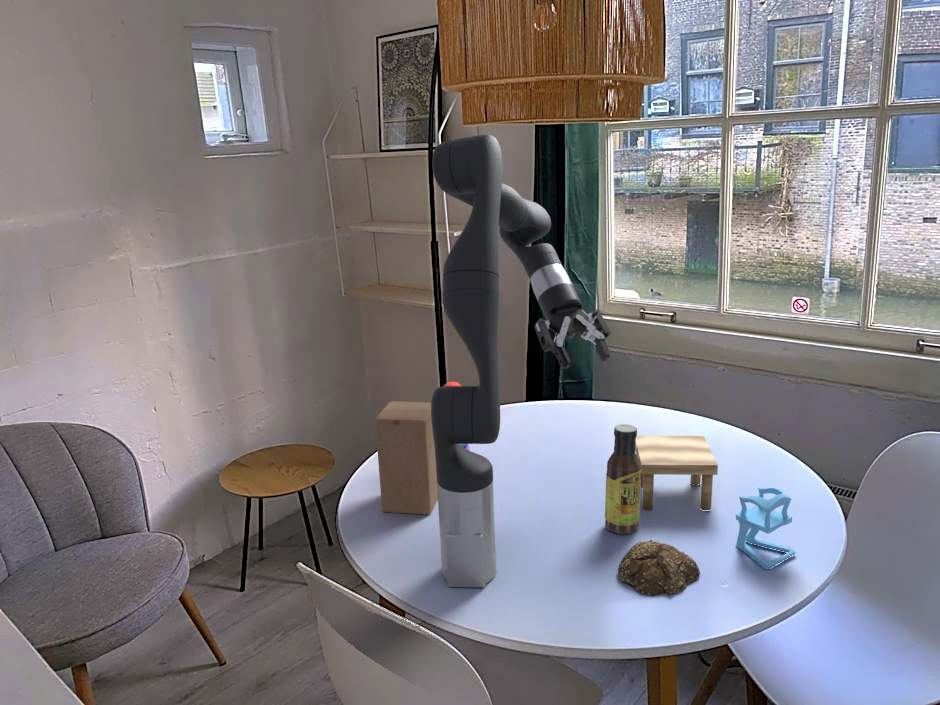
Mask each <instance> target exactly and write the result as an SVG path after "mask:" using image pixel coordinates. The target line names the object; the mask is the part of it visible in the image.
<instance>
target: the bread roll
mask: <svg viewBox="0 0 940 705" xmlns="http://www.w3.org/2000/svg"><path fill="white" fill-rule="evenodd" d="M617 574H618V577H619V580H620V581H621V582H623V583H626V584H628V585H629V584H630V585H632V586H633V587H634V588H635V589H636V591H638V592H639V593H640V594H642V595H643V596H644V595H645V596H660V595H663V594H669V595H674V594H678V593H679V592H682V591H685V589H687V588H688V586H689V585H690V584H692V583H695V582H697V581H698V580H699V576H700V574H701V572H700V568H699V566H698V564H697V562H696V561H695V560H694V559H693V558H692V557H691V556H689V555H688V554H686V553H685V552H684V551H680V550H678V548H677V547H675V546H672V545H670V544H669V543H664V542H663V543H662V542H661V543H660V541H653V540H652V539H651V540H649V541H648V540H647V541H646V540H645V541H639V542H636V544H634V545H632V547H630V549H629V550H627V551H626V553H625V555H624V556H623V557H622V559H621V561H620V562H619V565H618V568H617Z"/></svg>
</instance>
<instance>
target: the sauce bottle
mask: <svg viewBox="0 0 940 705" xmlns="http://www.w3.org/2000/svg"><path fill="white" fill-rule="evenodd" d="M613 436H614V446H613V452H612V454H611V455H610V456H609V458H608V459H607V465H606V467H607V468H606V474H605V477H606V478H605V502H604V504H605V506H604V518H605V522H604V523H605V524H604V525H605V528H606V529H607V530H608V531H610V532H612V533H615V534H618V535H619V534H621V535H625V534H626V535H627V534H632V533H634V532H636V530H637V529H638V528H639V521H640V510H641V509H640V508H641V504H640V503H641V488H642V487H641V486H642V485H641V463H640V460H639V458H638V457H637V455H636V451H635V450H636V448H635V442H636V436H638V428H637V427H636V426H635V425H633V424H629V423H628V424H627V423H622V424H616V425H615V426H614V430H613Z"/></svg>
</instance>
